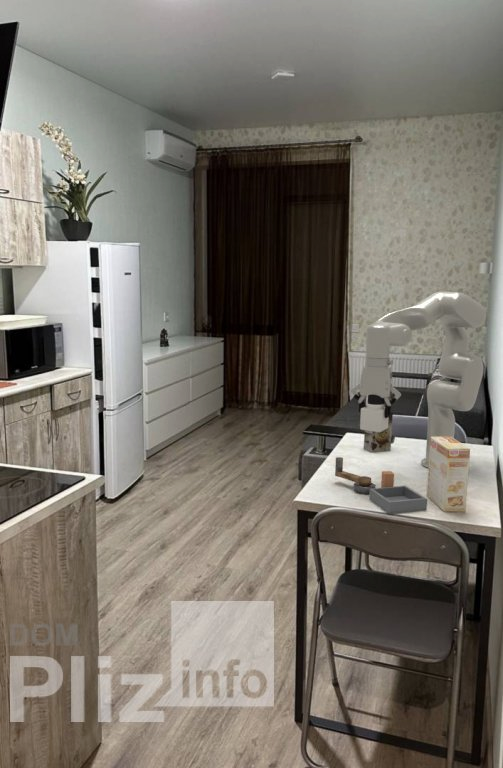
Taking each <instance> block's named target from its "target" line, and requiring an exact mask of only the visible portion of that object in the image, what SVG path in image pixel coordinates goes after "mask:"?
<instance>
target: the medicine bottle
mask: <svg viewBox="0 0 503 768" xmlns="http://www.w3.org/2000/svg"><path fill="white" fill-rule="evenodd" d="M385 404H386V402H385V400H384V398H381V397H380V396H378V395H368V396H367V397H366V398H365V407H363V408H361V415H360V418H359V419H360V421H359V429H360V430H362V431H365V430H368V431H374V432H382V431H383V430H385V429H387V428H388V419H389V417H388V418H385V406H386V405H385Z"/></svg>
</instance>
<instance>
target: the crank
mask: <svg viewBox="0 0 503 768" xmlns="http://www.w3.org/2000/svg"><path fill="white" fill-rule="evenodd" d="M343 466H344V457H340V456H336V457H335V468H334V469H335V473H334V475H335V477H337V478H342V479H344V480H347V481H351V482H354V483H356V482H357V483H359V485H361V486H370V485H371V483H372V477H371V476H364V475H363V476H362V475H357V474H354V473H351V472H348V471H344V470H343Z"/></svg>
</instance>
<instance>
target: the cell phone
mask: <svg viewBox="0 0 503 768" xmlns="http://www.w3.org/2000/svg"><path fill="white" fill-rule="evenodd" d="M395 438H396V434H395V435H394V434H392V435H391V445H392V444H394V442H395Z"/></svg>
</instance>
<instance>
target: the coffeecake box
mask: <svg viewBox="0 0 503 768" xmlns="http://www.w3.org/2000/svg"><path fill="white" fill-rule="evenodd" d="M470 455H471V448H470V447H468V446H466V445H464V444H463V443H462V442H460V441H459V440H458V439H455V437H454V438H452V437H431V438H430V454H429V468H427V469H428V471H427V486H426V487H427V488H426V496H427V497H428V498H429V499H430V500H431V501H432V502H433V503H434V504H436V505H437V507H438V508H439V509H441V510H442V511H443V513H445V512H447V513H448V512H451V513H452V512H455V513H456V512H457V513H459V512H462V513H463V512H466V508H467V507H466V506H467V496H468V494H467V493H468V485H469V484H468V483H469V481H468V480H469V470H470V469H469V467H470V458H471V457H470Z"/></svg>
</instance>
